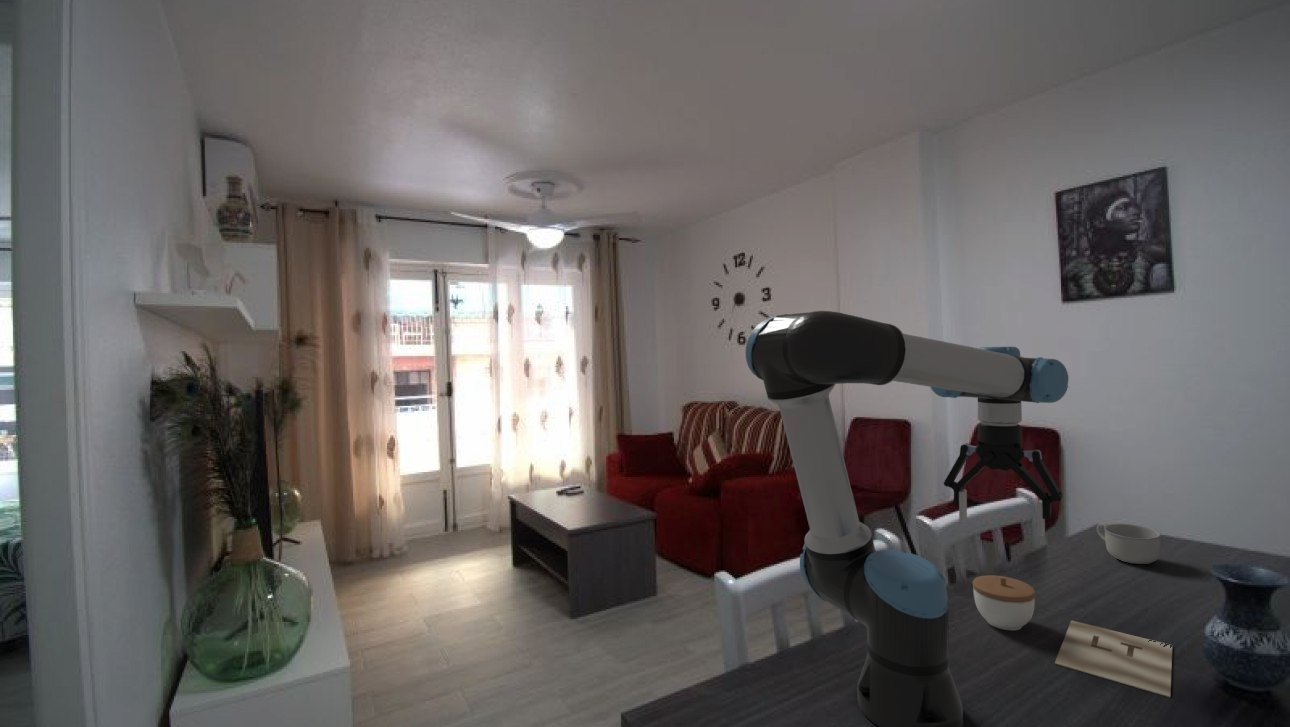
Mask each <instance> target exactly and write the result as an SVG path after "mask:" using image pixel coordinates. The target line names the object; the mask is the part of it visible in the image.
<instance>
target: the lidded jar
mask: <svg viewBox="0 0 1290 727" xmlns="http://www.w3.org/2000/svg"><path fill="white" fill-rule="evenodd" d="M972 587H973V591H972V592H973V598H974V603H975V607H976V608H977V610H978V612H979V613H980V615H981V616H982V617H983V619H984V620H986V622H987V623H988V624H989V625H990V626H992V627H994V628H997V629H1000V630H1004V631H1014V632H1015V631H1020V630H1021V629H1022V627H1024V626H1026V625H1027V624H1028V623H1029V622H1030V621H1031V619H1032V617H1033V614H1034V612H1035V611H1034V610H1035V605H1036V604H1035V597H1036V591H1035V589H1034V587H1033V586H1031V585H1030V584H1028V583H1027V582H1024V581H1022V580H1020V579H1016V578H1012V577H1008V576H1003V575H994V574H992V575H990V574H989V575H980V576H979V575H978V576H977V577H975V578H974V579H973V580H972Z"/></svg>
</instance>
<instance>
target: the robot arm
mask: <svg viewBox="0 0 1290 727" xmlns="http://www.w3.org/2000/svg"><path fill="white" fill-rule="evenodd" d="M745 361H746V364H747V367H748V368H749V370H750V372H751V373H752V374H753V375H754V376H756V378H758V379H760V380H762V381H763V384H764V388H765V389H764V390H765V391H766V395H767V396H766V397H767V399H768V401H770V402H771V403H774V404H775V405H777V406H778V408H779V411H780V415H781V420H782V423H783V428H784V431H785V435H786V439H787V440H786V441H787V444H788V446H789V451H790V455H791V459H792V462H793V468H794V471H795V474H796V479H797V483H798V487H799V491H800V494H801V495H800V496H801V498H802V502H803V506H804V510H805V511H804V512H805V514H806V519H807V522H808V526H809V527H808V528H809V530H808V531H807V533H806V534H805V536H804V544H803V547H802V553H800V555H799V569H800V570H799V571H800V575H801V577H802V579H803V581H804V583H805V584H806V586H807V587H808V588H809V589H810V590H811V591H812V592H813V593H814V594H816V595H817V596H818V598H820V599H821V600H823V601H824V602H827V603H828V604H830V605H832V606H833V607H835V608H836V609H838V610H839V611H841V612H844V613H845V615H846V614H847V615H848V616H850V617H851V618H853V619H854V620H856V621H857V622H859V623H861V624H862V625H864V626H865V627H866V636H867V638H866V640H867V654H866V659H865V660H864V664H863V667H862V669H861V673H860V676H859V677H858V678H859V679H858V681H857V687H856V689H857V690H856V692H857V705H858V707H859V709H860V711H861V712H862V714H863V715H864V716H865V717H866V718H867V719H868V720H869V721H871V723H873V724H874V725H876V726H877V727H963V726H964V708H963V702H962V701H961V696H960V694H959V691H958V688H957V686H956V684H955V681H954V678H953V675H952V673H951V670H950V665H949V660H950V659H949V655H950V654H949V652H950V651H949V604H950V603H949V596H948V593H947V592H948V591H947V582H946V578H945V576H944V574H943V573H942V571H941V570H940V568H938V567H937V566H936V565H935V564H934V563H933V562H931V561H929V560H927V559H926V558H925V557H921V556H920V555H917V554H914V553H911V552H907V553H906V552H903V551H902V550H898V549H897V550H895V549H879V550H876V548H875V542H874V539H873V535H872V531H871V529H870V528H869V526H867V525H866V524H864V523H863V522H861V521H860V519H859V516H858V510H857V507H856V502H855V499H854V494H853V491H852V486H851V483H850V479H849V473H848V470H847V466H846V462H845V459H844V458H845V457H844V454H843V449H842V446H841V441H840V437H839V433H838V430H837V425H836V422H835V421H836V420H835V417H834V413H833V409H832V408H833V407H832V404H831V401H830V394H831V392H832V390H833V389H834V388H835V386H836V385H839V384H869V385H874V386H875V385H877V386H885V385H888V384H890V383H892V382H898V383H905V384H910V385H911V384H912V385H917V386H924V387H929V388H930V389H931V391H933V393H935V394H936V395H937V396H939V397H942V398H952V399H956V398H974V399H975V398H976V399H977V421H979V422H980V423H978V425H977V445H970V444H969V443H967V442H966V443H963V444H961V445H960V447H959V448H960V449H959V455H958V457H957V459H956V460H955V461H954V464H953V466H952V468H950V471H949V473H948V475H947V476H946V478H945V479H944V481H943V485H944V487H948V488H949V489H952V490H953V504H954V506H958V511H959V514H958V516H959V518H958V519H959V520H958V521H959V522H958V523H959V524H965V523H966V522H967V520H968V501H967V500H968V496H967V495H968V494H967V492H968V490H967V489H963V488H964V487H965V486H966V485H967V484H968V483H969V482H970V481H971V480H972V479H973V478H974V477H976V476H977V474H979V473H980V472H981V471H982V470H983V469H984V468H985V467H987V468H988V469H989V470H1000V471H1006V472H1008V471H1011V470H1012V471H1013V472H1014V473H1015V474H1016V475H1018V477H1019V478H1020V479H1021V480H1022V481H1023V482H1024V483H1025V484H1026V485H1027V486H1028V487H1029V489H1030V490H1031V491H1032V492H1033V493H1034V494H1035V495H1036V496H1037V497H1038V498H1039V500H1038V501H1037V502H1036V504H1037V505H1036V506H1037V508H1036V510H1037V511H1036V513H1037V516H1036V517H1037V523H1036V524H1037V537H1042V538H1043V536H1044V535H1045V534H1046V532H1045V531H1046V530H1045V529H1046V526H1045V525H1046V522H1045V521H1046V520H1047V521H1048V520H1050V519H1051V517H1052V503H1053V502H1060V501H1061V500H1062V499H1063V497H1064V494H1063V493H1062V491H1061V490H1060V488H1059V487H1058V484H1057V482H1056V481H1055V479H1054V477H1053V476H1052V474H1051V473H1050V471H1049V469H1048V467H1047V465H1046V464H1045V462H1044V460H1043V453H1042V450H1041V449H1039V448H1038V449H1035V450H1025V449H1024V447H1023V433H1022V432H1023V431H1022V430H1023V429H1022V428H1023V426H1021V425H1020V423H1021V422H1022V421H1023V418H1022V415H1023V414H1022V412H1023V410H1022V402H1027V403H1036V404H1040V403H1043V404H1044V403H1045V404H1046V403H1047V404H1052V403H1053V404H1054V403H1056V402H1058V401H1060V400H1061V399H1062V398H1064V396H1065V395H1066V393H1067V391H1068V388H1069V380H1070V379H1069V372H1068V369H1067V368H1066V366H1065V365H1064V364H1063V363H1062V362H1061V361H1060V360H1059V359H1055V358H1044V357H1042V356H1041V357H1036V358H1035V357H1023V356H1021V351H1020V349H1019V348H1018V347H1017V346H981V347H979V348H978V347H973V346H968V345H963V344H957V343H953V342H947V341H942V340H937V339H932V338H927V337H922V336H916V335H912V334H907V333H903V331H902V330H901V329H900V328H899V327H897V326H896V325H894V324H891V323H886V322H880V321H877V320H872V319H869V318H866V317H865V318H864V317H861V316H855V315H851V314H847V313H842V312H838V311H831V310H817V311H814V310H813V311H810V312H800V313H789V314H788V313H785V314H780V315H779V314H777V315H776V316H772V317H769V318H766V319H765V320H762V321H761V322H759V323H758V324H757V325H756V326H755V327H754V328H753V329H752V331H751V333H750V335H749V336H748V338H747V341H746V345H745ZM974 453H976V456H978V457H979V459H980V460H979V461H978V462H977V463H976V464H975V465H974V466H973V467H972V468H971V469H970V470H969V471H968V472H967V473H966V474H964V476H962V477H961V478H960V479H959V480H958V481H955V480H956V479H957V478H958V475H959V474H960V472H961V470H962V468H963V466H964V465H965V463H966V462H967V459H969V457H970V456H972V455H973V454H974ZM1025 457H1026V458H1028V460H1029V462H1031V463H1032V464H1033V465H1034V468H1035V469H1036V472H1037V473H1038V475H1039V476H1040V479H1041V480H1042V482H1043V484H1044V485H1045V487H1046V489H1047V490H1048V491H1047V490H1046V489H1045V488H1044V487H1043V486H1042V485H1041V483H1039V482H1038V480H1037V479H1036V478H1035V477H1034V476H1033V475H1032V474H1031V473H1030V472H1029V470H1027V468H1026V467H1025V466H1024V464H1023V463H1022V462H1021V461H1022V460H1023V459H1024V458H1025ZM1049 493H1050V494H1049Z"/></svg>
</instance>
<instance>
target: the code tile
mask: <svg viewBox="0 0 1290 727" xmlns="http://www.w3.org/2000/svg"><path fill="white" fill-rule="evenodd" d="M1149 640H1150V639H1149V638H1145V637H1141V636H1137V635H1136V636H1135V635H1132V634H1129V633H1128V634H1127V633H1124V632H1119V631H1116V630H1111V629H1108V628H1104V627H1100V626H1096V625H1091V624H1088V623H1084V622H1079V621H1075V620H1070V623H1069V626H1068V628H1067V630H1066V633H1065V636H1064V638H1063V641H1062V644H1061V646H1060V648H1059V651H1058V654H1057V656H1056V658H1055V662H1054V665H1058V666H1061V667H1065V668H1067V669H1072V670H1073V671H1074V670H1075V671H1078V672H1080V673H1081V672H1082V673H1085V674H1088V675H1090V676H1091V675H1092V676H1096V677H1099V678H1101V679H1105V680H1109V681H1112V682H1116V683H1118V684H1123V685H1125V686H1130V687H1132V688H1135V689H1139V690H1143V691H1146V692H1149V693H1153V694H1156V695H1160V696H1163V697H1167V698H1171V693H1172V691H1171V688H1172V668H1173V667H1172V666H1173V663H1172V662H1173V646H1172V647H1171V648H1170V645H1171V644H1169V643H1168V644H1169V645H1167V646H1165V647H1163V646H1164V645H1165V642H1162V641H1157V640H1155V641H1156V642H1153V641H1154V639H1151V640H1152V641H1149ZM1148 641H1149V642H1148ZM1161 643H1163V644H1161ZM1160 644H1161V645H1160Z"/></svg>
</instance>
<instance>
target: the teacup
mask: <svg viewBox="0 0 1290 727" xmlns="http://www.w3.org/2000/svg"><path fill="white" fill-rule="evenodd" d="M1096 532H1097V534H1098V536H1099V537H1100V538H1101V539H1102V540H1103V541H1104V542H1105V548H1106V550H1107V552H1108V553H1109V555H1111V556H1112V557H1113V558H1115V559H1116V558H1117V559H1119V560H1121V561H1125V562H1129V563H1137V564H1148V563H1150V564H1151V563H1153V562H1155V561H1157V560H1158V559H1159V557H1160V556H1161V555H1160V554H1161V533H1160V532H1159V531H1157V530H1155V529H1153V528H1150V527H1147V526H1143V525H1139V524H1133V523H1132V524H1130V523H1112V524H1110V523H1107V522H1100V523H1098V524H1097V526H1096ZM1117 559H1116V560H1117ZM1119 560H1118V561H1119ZM1121 561H1120V562H1121ZM1148 565H1149V564H1148Z"/></svg>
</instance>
